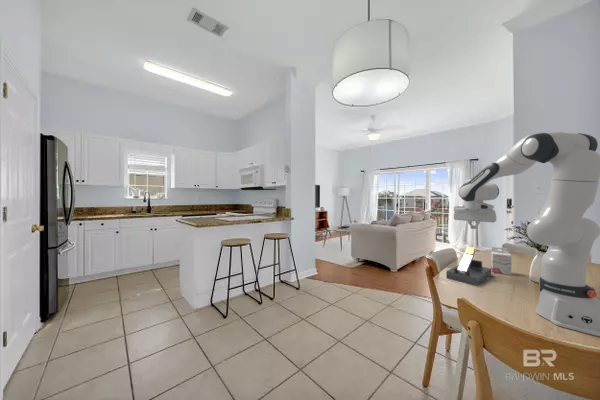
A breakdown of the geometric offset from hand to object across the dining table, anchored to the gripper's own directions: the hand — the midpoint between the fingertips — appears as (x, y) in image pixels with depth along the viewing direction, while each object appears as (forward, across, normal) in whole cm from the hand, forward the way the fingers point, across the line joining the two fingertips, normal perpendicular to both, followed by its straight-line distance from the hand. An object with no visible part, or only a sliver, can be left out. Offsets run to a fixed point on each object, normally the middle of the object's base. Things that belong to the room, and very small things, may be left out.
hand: (473, 228), depth 132 cm
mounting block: (+27, 0, -8) cm, 28 cm away
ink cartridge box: (+27, +9, +14) cm, 32 cm away
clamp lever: (+18, 0, -11) cm, 21 cm away
